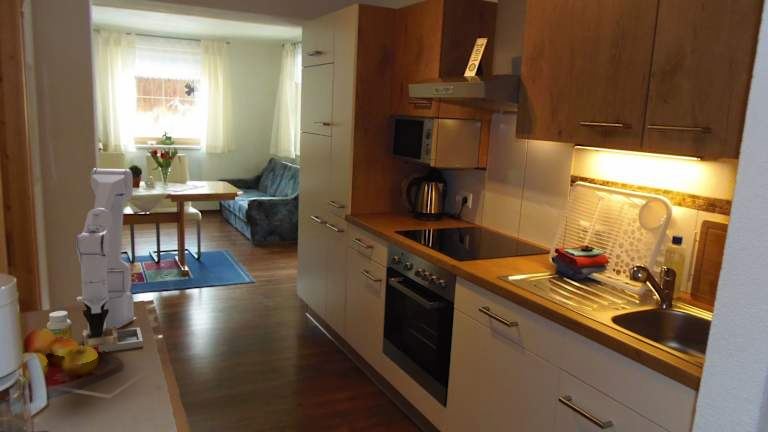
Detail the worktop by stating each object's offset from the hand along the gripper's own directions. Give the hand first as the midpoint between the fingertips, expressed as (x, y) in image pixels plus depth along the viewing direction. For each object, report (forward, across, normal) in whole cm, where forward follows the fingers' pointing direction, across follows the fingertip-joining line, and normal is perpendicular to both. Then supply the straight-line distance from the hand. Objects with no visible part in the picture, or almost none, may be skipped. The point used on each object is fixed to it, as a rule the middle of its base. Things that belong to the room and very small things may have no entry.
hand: (96, 331), depth 142 cm
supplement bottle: (+5, -2, -8) cm, 10 cm away
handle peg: (+3, 0, 0) cm, 3 cm away
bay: (+4, 0, +4) cm, 6 cm away
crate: (+3, 0, +1) cm, 4 cm away
